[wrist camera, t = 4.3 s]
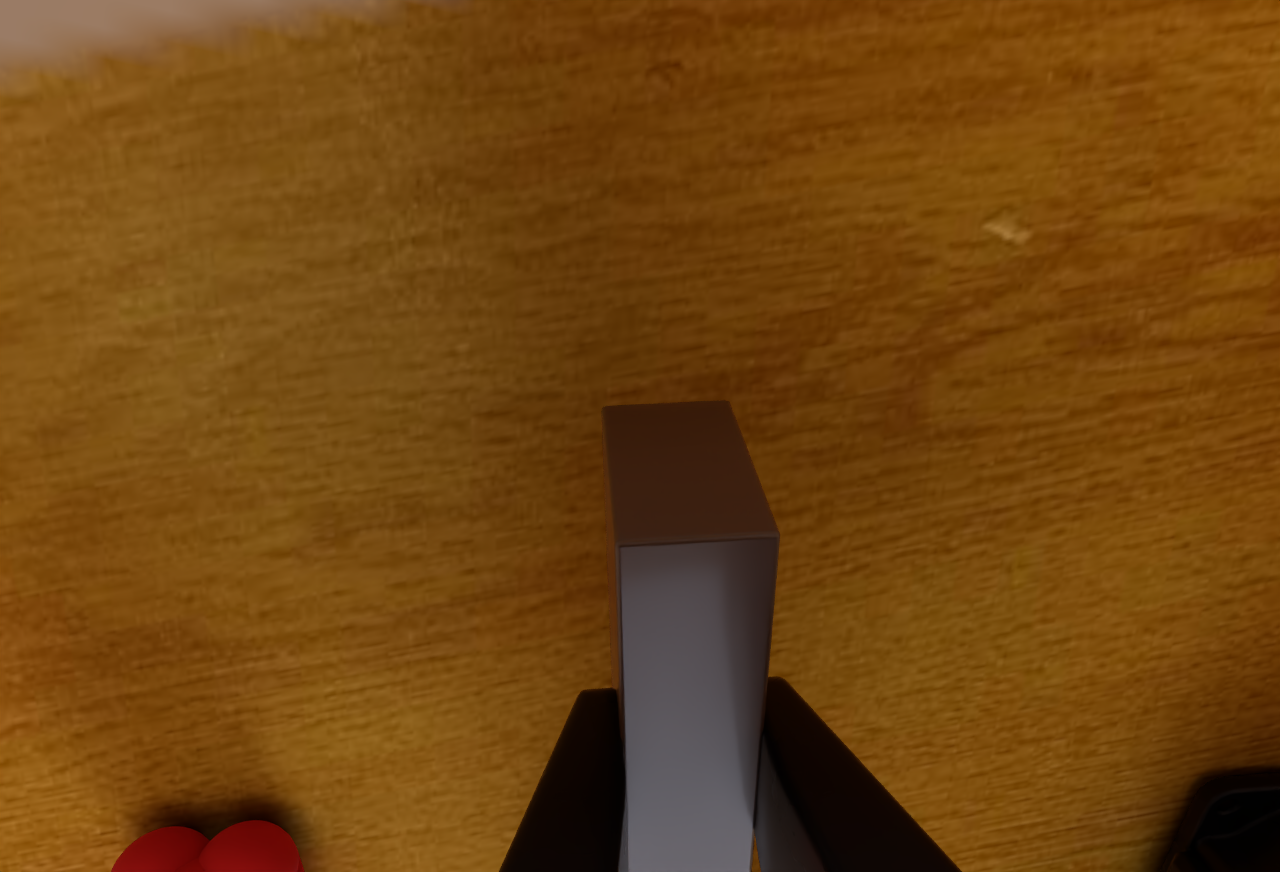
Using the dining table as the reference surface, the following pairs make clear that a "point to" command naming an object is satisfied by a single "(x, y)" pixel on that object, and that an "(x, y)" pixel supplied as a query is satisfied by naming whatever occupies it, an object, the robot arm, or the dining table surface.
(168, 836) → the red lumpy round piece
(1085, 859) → the dining table surface
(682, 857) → the fork
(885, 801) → the robot arm
